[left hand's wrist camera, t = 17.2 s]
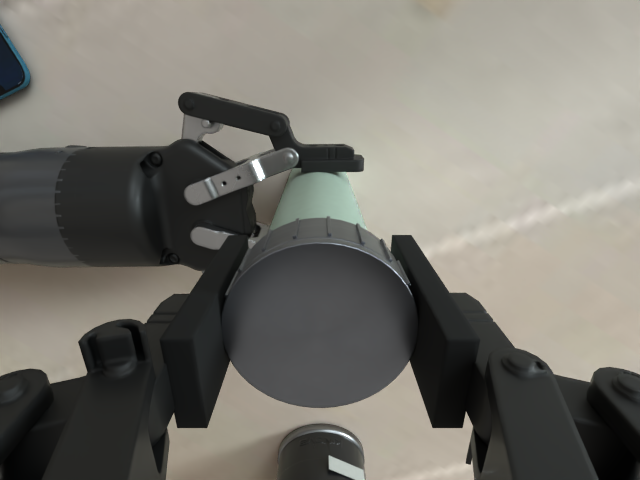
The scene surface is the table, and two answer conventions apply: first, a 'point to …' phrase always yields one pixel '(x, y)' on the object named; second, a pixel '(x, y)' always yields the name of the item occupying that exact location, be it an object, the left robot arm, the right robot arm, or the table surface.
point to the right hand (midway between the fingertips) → (359, 205)
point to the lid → (319, 314)
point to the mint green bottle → (317, 198)
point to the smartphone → (11, 68)
